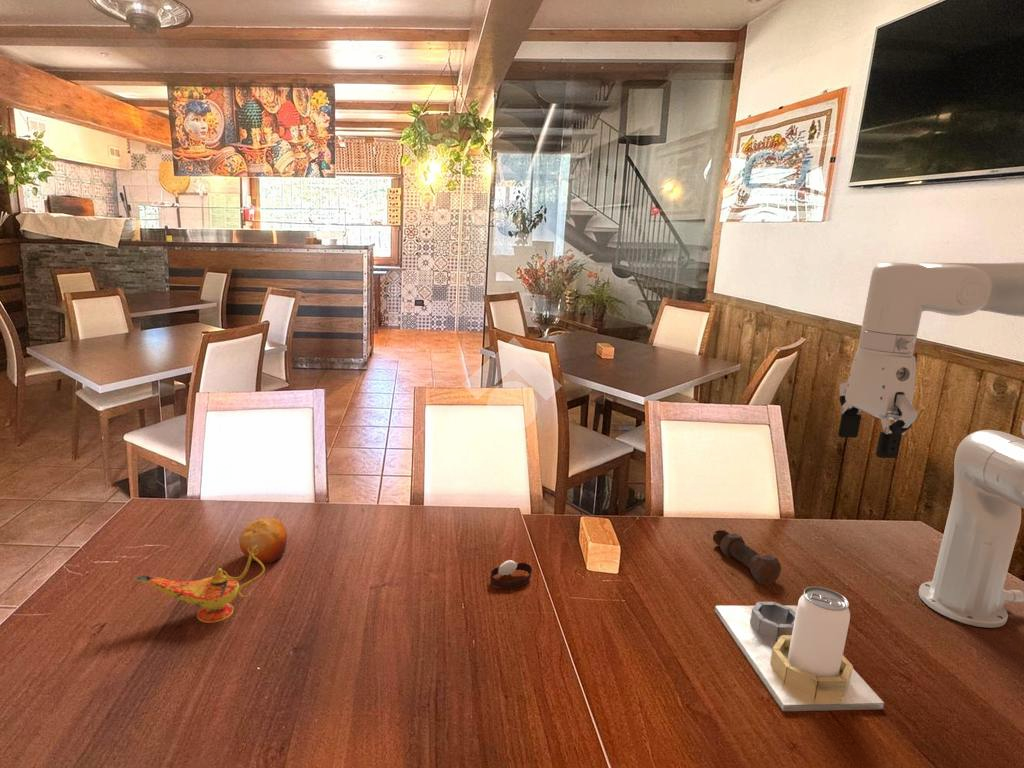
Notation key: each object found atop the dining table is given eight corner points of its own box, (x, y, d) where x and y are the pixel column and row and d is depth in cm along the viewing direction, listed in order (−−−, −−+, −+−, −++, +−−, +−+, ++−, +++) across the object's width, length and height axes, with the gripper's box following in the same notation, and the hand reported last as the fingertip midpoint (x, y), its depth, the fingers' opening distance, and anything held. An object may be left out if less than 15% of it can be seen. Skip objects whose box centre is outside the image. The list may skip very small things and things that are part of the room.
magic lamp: (146, 605, 95) (140, 540, 93) (270, 596, 99) (267, 533, 97) (130, 633, 89) (122, 564, 86) (263, 622, 93) (260, 555, 90)
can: (834, 696, 82) (850, 617, 80) (782, 676, 86) (796, 600, 83) (838, 670, 88) (854, 595, 85) (790, 652, 91) (803, 579, 88)
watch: (524, 571, 111) (525, 552, 110) (536, 584, 107) (538, 565, 106) (485, 579, 108) (486, 560, 107) (496, 593, 104) (497, 574, 103)
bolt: (719, 552, 126) (770, 590, 112) (702, 543, 124) (751, 581, 110) (734, 528, 126) (787, 563, 112) (717, 518, 124) (768, 553, 110)
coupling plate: (794, 610, 103) (798, 592, 102) (882, 709, 82) (887, 686, 81) (714, 611, 102) (717, 592, 101) (782, 711, 81) (786, 688, 80)
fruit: (306, 543, 113) (285, 517, 108) (275, 579, 109) (252, 553, 104) (277, 530, 117) (257, 504, 112) (246, 564, 113) (224, 539, 108)
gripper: (951, 354, 88) (926, 466, 92) (872, 335, 105) (854, 430, 109) (902, 352, 88) (879, 465, 92) (831, 333, 104) (814, 429, 108)
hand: (865, 446), depth 100 cm, fingers open, 9 cm apart
